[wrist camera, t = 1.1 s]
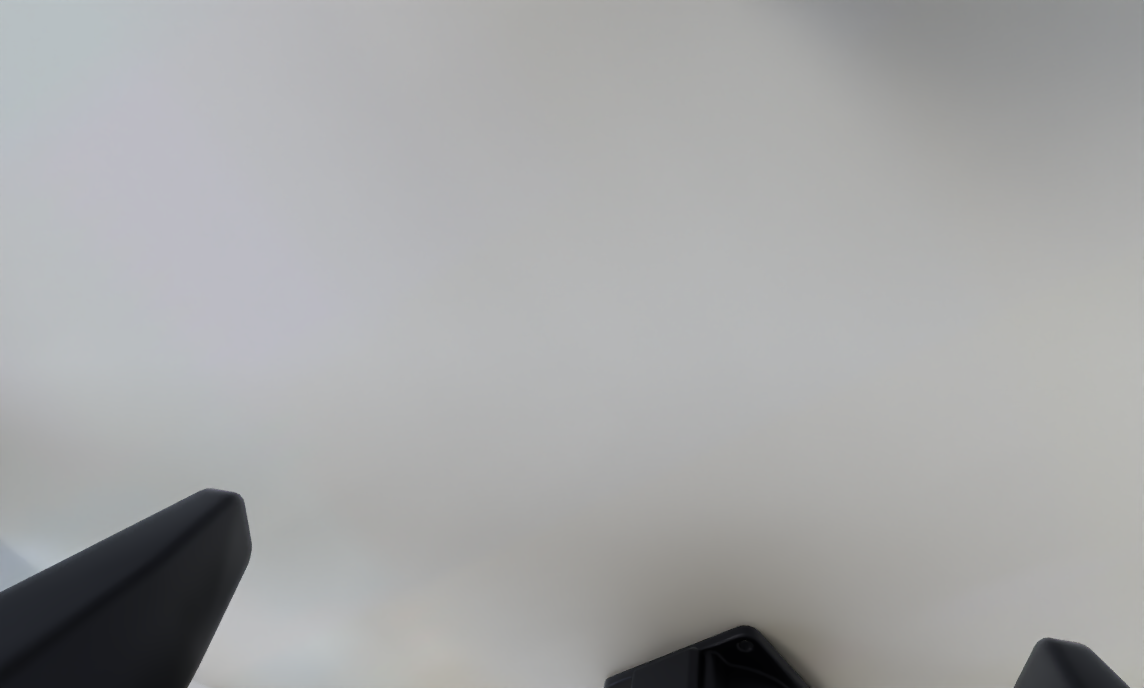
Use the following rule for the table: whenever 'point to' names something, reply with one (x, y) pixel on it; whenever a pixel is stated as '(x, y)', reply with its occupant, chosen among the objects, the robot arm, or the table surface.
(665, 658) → the robot arm
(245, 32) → the table surface
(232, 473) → the table surface
